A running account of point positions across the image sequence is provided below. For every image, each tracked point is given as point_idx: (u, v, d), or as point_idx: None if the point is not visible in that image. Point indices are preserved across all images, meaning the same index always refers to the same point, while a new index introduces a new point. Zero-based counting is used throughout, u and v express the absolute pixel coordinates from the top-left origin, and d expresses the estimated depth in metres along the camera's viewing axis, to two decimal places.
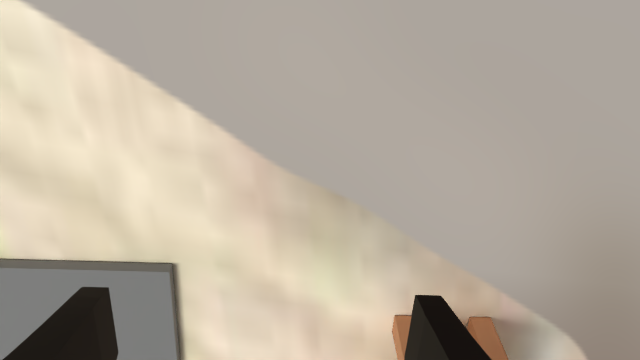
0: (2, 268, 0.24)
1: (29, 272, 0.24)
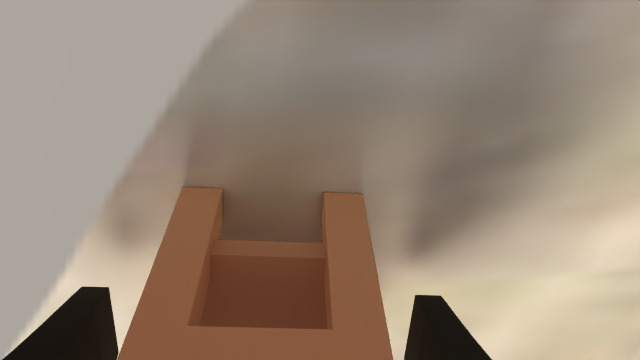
0: None
1: None
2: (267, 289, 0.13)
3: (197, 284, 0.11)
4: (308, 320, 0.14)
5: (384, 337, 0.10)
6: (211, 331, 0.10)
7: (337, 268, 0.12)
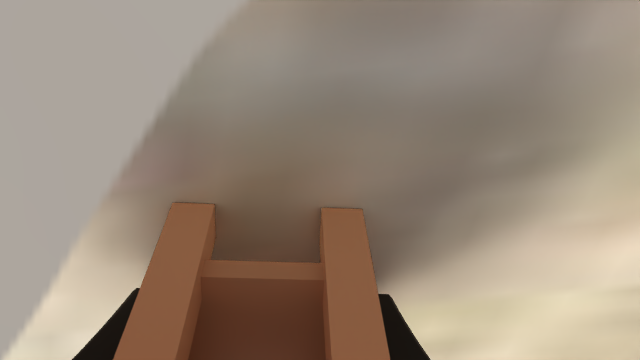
0: None
1: None
2: (262, 312, 0.12)
3: (186, 312, 0.10)
4: (305, 344, 0.13)
5: None
6: None
7: (336, 293, 0.11)
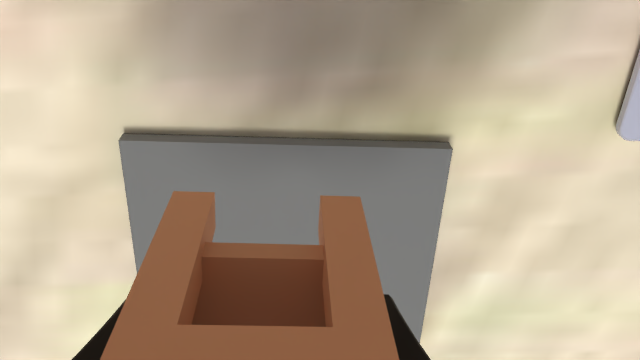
0: None
1: None
2: (262, 294, 0.13)
3: (188, 283, 0.11)
4: None
5: (388, 334, 0.10)
6: (202, 329, 0.09)
7: (336, 267, 0.11)
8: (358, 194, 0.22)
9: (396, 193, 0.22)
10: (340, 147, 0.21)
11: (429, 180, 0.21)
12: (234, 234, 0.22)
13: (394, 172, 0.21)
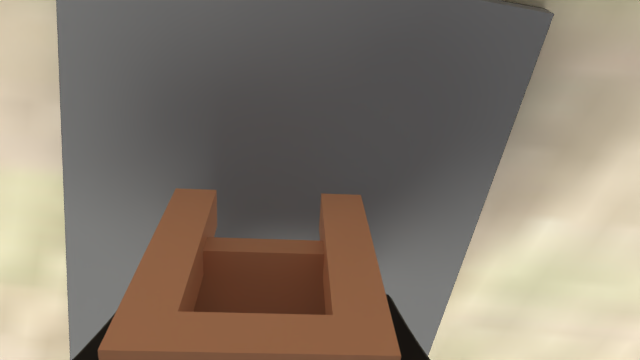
0: (64, 188, 0.16)
1: (69, 154, 0.16)
2: (263, 289, 0.13)
3: (189, 273, 0.11)
4: None
5: (387, 322, 0.10)
6: (203, 316, 0.09)
7: (336, 259, 0.11)
8: (405, 69, 0.15)
9: (460, 75, 0.15)
10: None
11: (510, 59, 0.15)
12: (214, 109, 0.15)
13: (464, 40, 0.14)
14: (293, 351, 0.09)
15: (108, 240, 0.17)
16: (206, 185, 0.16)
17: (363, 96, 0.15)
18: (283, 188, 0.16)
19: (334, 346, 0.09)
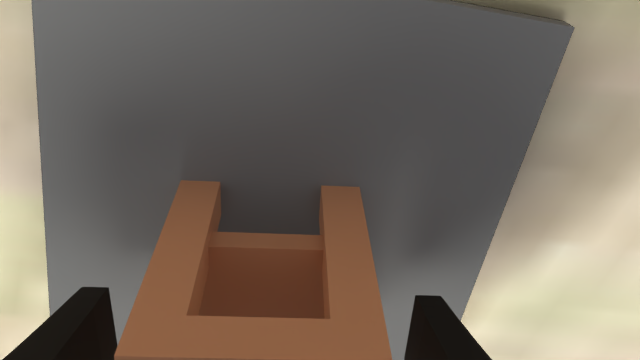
0: (45, 213, 0.15)
1: (49, 178, 0.14)
2: (265, 281, 0.13)
3: (196, 275, 0.11)
4: (305, 311, 0.14)
5: (381, 326, 0.10)
6: (210, 320, 0.10)
7: (334, 259, 0.12)
8: (412, 86, 0.14)
9: (472, 93, 0.14)
10: None
11: (526, 76, 0.14)
12: (206, 130, 0.14)
13: (477, 55, 0.13)
14: (293, 357, 0.10)
15: (92, 267, 0.16)
16: None
17: (367, 116, 0.14)
18: (280, 213, 0.15)
19: (331, 351, 0.10)
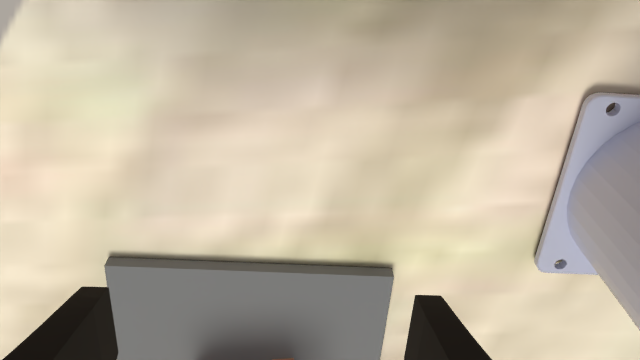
0: None
1: None
2: None
3: None
4: None
5: None
6: None
7: None
8: (312, 310, 0.25)
9: (346, 310, 0.25)
10: (297, 274, 0.24)
11: (374, 300, 0.25)
12: (204, 339, 0.25)
13: (344, 293, 0.24)
14: None
15: None
16: None
17: (291, 325, 0.25)
18: None
19: None
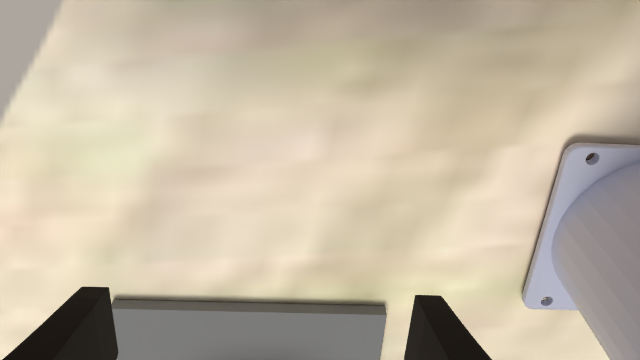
0: None
1: None
2: None
3: None
4: None
5: None
6: None
7: None
8: (309, 346, 0.26)
9: (341, 346, 0.26)
10: (293, 313, 0.25)
11: (368, 336, 0.26)
12: None
13: (339, 331, 0.25)
14: None
15: None
16: None
17: None
18: None
19: None
